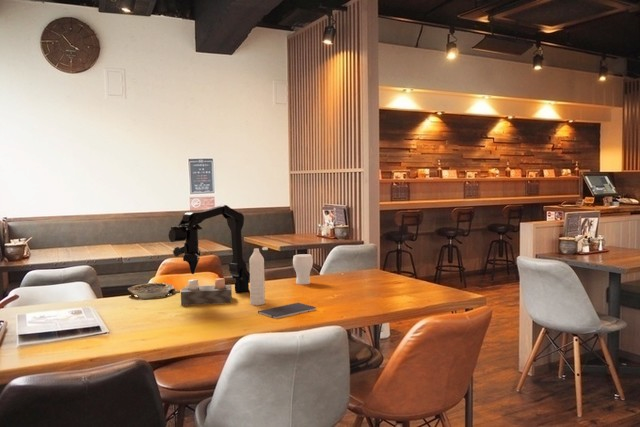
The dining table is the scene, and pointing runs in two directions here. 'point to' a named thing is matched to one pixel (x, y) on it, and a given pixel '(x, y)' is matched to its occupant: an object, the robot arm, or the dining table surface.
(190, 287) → the cream peg
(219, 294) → the block
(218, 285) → the terracotta peg
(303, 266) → the cup
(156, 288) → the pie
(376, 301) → the dining table surface
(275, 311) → the notebook
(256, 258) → the water bottle
